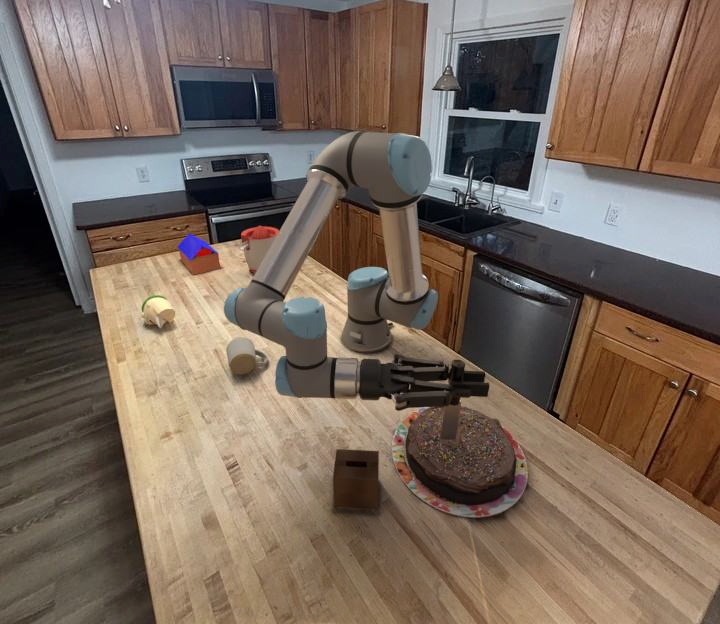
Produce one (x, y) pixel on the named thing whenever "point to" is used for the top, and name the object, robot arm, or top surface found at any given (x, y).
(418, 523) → the top surface
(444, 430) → the knife
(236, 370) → the ceramic mug
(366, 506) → the knife block
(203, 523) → the top surface
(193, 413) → the top surface
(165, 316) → the cartoon head
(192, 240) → the house
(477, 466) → the chocolate cake
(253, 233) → the citrus juicer
